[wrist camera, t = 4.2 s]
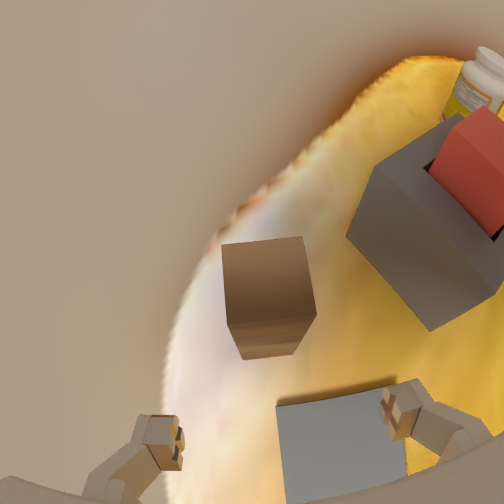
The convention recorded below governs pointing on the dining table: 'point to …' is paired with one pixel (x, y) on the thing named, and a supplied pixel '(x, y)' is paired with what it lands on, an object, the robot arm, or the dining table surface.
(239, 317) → the brown wooden block
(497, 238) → the gray socket block
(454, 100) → the supplement bottle
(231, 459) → the dining table surface
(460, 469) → the robot arm
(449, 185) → the button
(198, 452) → the dining table surface
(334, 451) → the pad
